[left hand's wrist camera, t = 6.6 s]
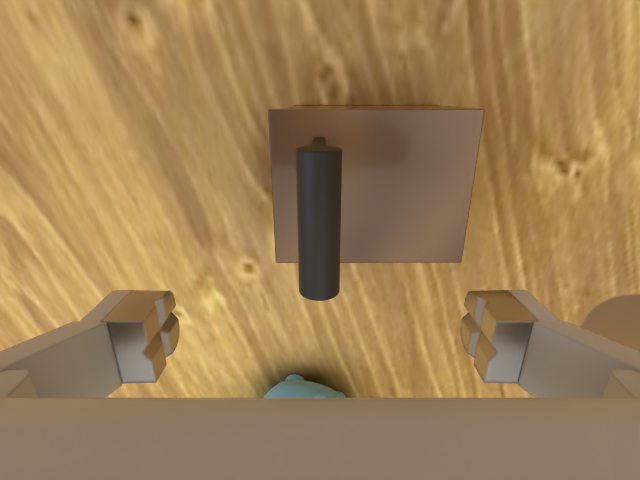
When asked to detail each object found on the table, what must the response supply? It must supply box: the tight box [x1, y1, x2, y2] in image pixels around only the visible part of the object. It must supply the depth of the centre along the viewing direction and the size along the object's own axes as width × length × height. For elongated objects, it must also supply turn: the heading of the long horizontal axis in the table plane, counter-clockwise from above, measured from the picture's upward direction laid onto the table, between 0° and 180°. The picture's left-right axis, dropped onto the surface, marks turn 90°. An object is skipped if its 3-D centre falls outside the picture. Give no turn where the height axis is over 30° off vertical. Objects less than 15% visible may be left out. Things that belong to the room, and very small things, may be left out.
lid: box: [268, 109, 485, 301], centre depth 20 cm, size 13×10×8 cm
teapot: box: [263, 374, 346, 398], centre depth 37 cm, size 13×14×11 cm
